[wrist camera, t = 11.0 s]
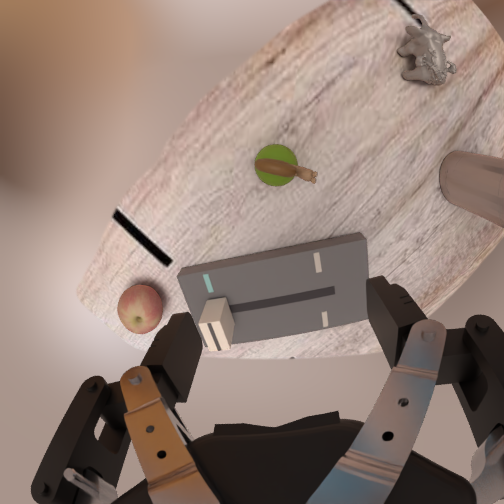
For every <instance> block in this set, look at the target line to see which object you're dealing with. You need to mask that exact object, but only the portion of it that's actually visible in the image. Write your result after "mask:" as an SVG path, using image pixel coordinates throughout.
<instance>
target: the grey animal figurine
mask: <svg viewBox="0 0 504 504" xmlns="http://www.w3.org/2000/svg"><path fill="white" fill-rule="evenodd" d="M412 18H414V19H417V18H419V19H420V20H421V22H422V27H421V28H420V29H419V28H417V27H414V26H407V27H406V31H407V33H408V34H410V35H411V36H413V37H414V38H412V39H411V40H410V41H409V42H408V43H407V44H406V45H405V46H404V47H401V48H399V49H398V53H399V54H400V55H401V56H404V57H405V56H408V55H415V57H416V60H415V64H416V65H417V67H416V68H415V69H414V70H411V71H404V72H403V77H404V79H405V80H422V81H426V83H428V84H431V83H432V84H433V85H436V84H438V85H442V84H444V83H445V81H446V76H447V72H450V73H452V74H455V73H456V70H457V69H456V65H455V64H453V63H451V62H449V61H447V60H446V56H445V52H444V51H443V43H445V42H447V41H449V40H450V38H451V36H446V35H443V34H440V33H438V32H437V31H436V30H434V29H432V28H430V27H429V26H428V25H427V22H426V20H425V19H424V17H423V16H422V15H419V14H418V15H416V14H413V15H412ZM447 63H449V64H450V65H451V66H450V67H449V68H447V67H446V66H447Z"/></svg>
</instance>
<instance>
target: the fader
mask: <svg viewBox="0 0 504 504" xmlns="http://www.w3.org/2000/svg"><path fill="white" fill-rule="evenodd" d="M198 324H199V327H200V329H201V332H202V334H203V336H204V339H205V341H206V343H207V346H208V348H209V350H210V351H220V350H227V349H230V348H231V342H232V337H233V331H234V326H235V323H234V320H233V317H232V314H231V311H230V308H229V305H228V302H227V299H226V297H224V298H218V299H212V300H207V302H206V304H205V307H204V310H203V312H202V315H201V318H200V321H199V323H198Z"/></svg>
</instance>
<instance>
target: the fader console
mask: <svg viewBox="0 0 504 504" xmlns="http://www.w3.org/2000/svg"><path fill="white" fill-rule="evenodd" d="M177 279H178V281H179V284H180V287H181V289H182V292H183V294H184V297H185V299H186V302H187V304H188V307H189V309H190V312H191V314H192V317H193V319H194V322H195V324H196V326H197V329H198V331H199V333H200V336H201V338H202V340H203V343H204V345H205V347H208V346H207V343H206V341H205V339H204V336H203V334H202V332H201V329H200V327H199V324H198V323H199V321H200V318H201V315H202V312H203V310H204V307H205V304H206V302H207V300H212V299H218V298H224V297H226V299H227V302H228V305H229V308H230V311H231V314H232V317H233V320H234V323H235V326H234V331H233V337H232V342H231V344H238V343H246V342H253V341H260V340H266V339H273V338H279V337H285V336H291V335H296V334H302V333H307V332H312V331H317V330H322V329H327V328H332V327H336V326H341V325H345V324H350V323H354V322H358V321H362V320H366V319H368V314H367V299H366V280H367V279H369V270H368V253H367V240H366V238H365V237H364V236H363V235H362V234H361V233H355V234H350V235H345V236H340V237H335V238H330V239H325V240H320V241H315V242H310V243H305V244H300V245H295V246H290V247H285V248H280V249H275V250H270V251H265V252H260V253H255V254H250V255H245V256H240V257H235V258H230V259H225V260H220V261H215V262H210V263H205V264H200V265H195V266H190V267H185V268H182V269H181V271H180V272H179V274H178V275H177Z"/></svg>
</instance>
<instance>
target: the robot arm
mask: <svg viewBox="0 0 504 504" xmlns="http://www.w3.org/2000/svg"><path fill="white" fill-rule="evenodd" d="M440 186H441V190H442V192H443V194H444V196H445V198H446V199H447V200H448V201H449V202H450V203H452V204H454V205H457V206H459V207H461V208H463V209H465V210H468V211H470V212H472V213H474V214H476V215H478V216H480V217H483V218H485V219H487V220H489V221H491V222H493V223H495V224H497V225H499V226H501V227H502V228H504V159H503V158H498V157H493V156H487V155H481V154H475V153H469V152H462V151H454V152H451V153H450V154H448V155H447V156H446V158H445V159H444V161H443V163H442V166H441V169H440ZM366 299H367V314H368V319H369V322H370V324H371V326H372V328H373V330H374V332H375V334H376V336H377V339H378V341H379V343H380V345H381V347H382V349H383V352H384V354H385V356H386V358H387V361H388V363H389V365H390V368H391V372H390V375H389V377H388V379H387V381H386V383H385V385H384V387H383V389H382V391H381V393H380V396H379V397H378V399H377V402H376V403H375V405H374V407H373V409H372V411H371V413H370V414H369V416H368V418H367V420H366V422H365V423H364V422H361V421H356V420H350V419H340V418H339V412H338V411H335V412H330V413H325V414H319V415H314V416H308V417H305V418H302V419H299V420H296V421H293V422H291V423H288V424H284V425H282V426H278V427H265V426H258V425H251V424H244V423H241V424H215V427H214V433H210V434H207V435H204V436H202V437H199V438H197V439H195V440H194V438H193V437H192V435H191V434H190V432H189V430H188V429H187V427H186V425H185V424H184V422H183V420H182V418H181V417H180V415H179V413H178V412H177V410H176V409H175V404H176V402H181V403H183V402H185V403H186V402H187V398H188V395H189V391H190V388H191V385H192V381H193V378H194V375H195V372H196V368H197V365H198V362H199V359H200V356H201V352H202V348H203V345H202V339H201V336H200V334H199V332H198V330H197V327H196V325H195V323H194V320H193V318H192V316H191V314H190V313H189V312H184V313H177V314H173V315H172V316H171V318H170V320H169V322H168V324H167V325H165V326H164V327H163V328H162V329H161V330H160V331H158V333H157V334H156V336H155V338H154V341H153V342H152V344H151V347H149V349H148V351H147V353H146V355H145V357H144V359H143V361H142V363H141V365H140V366H135V367H133V368H130V369H129V370H128V371H126V372H125V373H124V374H123V375H122V377H121V379H120V381H118V382H114V383H109V384H107V382H106V381H105V380H104V378H103V377H101V376H93V377H90V378H89V379H87V380H86V381H85V382H84V383H83V384H82V385H81V387H80V389H79V391H78V392H77V394H76V396H75V397H74V399H73V401H72V403H71V404H70V406H69V408H68V410H67V412H66V414H65V416H64V417H63V419H62V421H61V423H60V425H59V427H58V429H57V431H56V433H55V435H54V437H53V439H52V441H51V443H50V445H49V447H48V449H47V451H46V453H45V455H44V457H43V460H42V462H41V464H40V466H39V468H38V471H37V473H36V475H35V478H34V480H33V482H32V485H31V494H32V497H33V499H34V500H35V501H36V502H37V503H39V504H493V503H495V502H496V501H498V500H501V499H504V332H503V331H502V329H501V328H500V327H499V326H498V325H497V323H496V322H495V321H494V320H493V319H492V318H490V317H489V316H486V315H474V316H472V317H470V318H469V319H468V320H467V322H466V325H465V328H459V329H446V328H445V326H444V325H443V324H442V323H440V322H438V321H436V320H431V319H428V318H427V317H426V316H425V314H424V313H423V312H422V310H421V309H420V308H419V306H418V305H417V304H416V302H414V300H413V299H412V297H411V296H410V295H409V294H408V292H407V291H406V290H405V289H404V288H403V287H401V286H399V285H397V284H392V285H390V284H389V283H388V281H387V280H386V279H385V277H384V276H383V275H381V276H377V277H373V278H369V279H367V280H366ZM451 383H452V385H453V388H454V390H455V392H456V394H457V396H458V398H459V401H460V403H461V405H462V408H463V410H464V413H465V415H466V417H467V420H468V422H469V425H470V427H471V430H472V433H473V435H474V438H475V441H476V444H477V446H478V449H477V450H476V452H475V453H474V455H473V457H472V461H471V468H472V475H471V479H470V481H468V480H466V479H465V478H464V477H462V476H459V475H458V474H456V473H454V472H452V471H450V470H447V469H446V468H444V467H442V466H440V465H438V464H436V463H434V462H433V461H431V460H429V459H427V458H425V457H423V456H422V455H420V454H418V453H417V452H415V451H413V450H412V448H413V445H414V443H415V441H416V438H417V436H418V434H419V431H420V428H421V426H422V423H423V421H424V418H425V415H426V412H427V409H428V406H429V403H430V400H431V397H432V394H433V391H434V387H435V385H441V384H451ZM100 417H101V418H102V419H103V420H104V421H105V425H104V428H103V430H102V432H101V435H100V437H99V440H97V439H96V438H95V435H94V429H95V427H96V424H97V422H98V420H99V418H100ZM131 440H132V443H133V446H134V449H135V451H136V454H137V457H138V459H139V462H140V464H141V467H142V469H143V472H144V474H145V477H146V478H145V479H144V480H143V481H141V482H140V483H139V484H137V485H136V486H134V487H133V488H132V489H130V490H129V491H127V492H126V493H124V494H123V495H122V496H120V497H119V498H118V496H117V491H116V487H117V483H118V480H119V476H120V473H121V470H122V467H123V463H124V460H125V457H126V454H127V451H128V448H129V445H130V442H131Z"/></svg>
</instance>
